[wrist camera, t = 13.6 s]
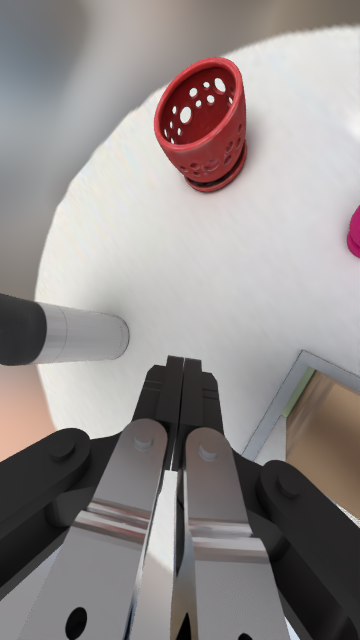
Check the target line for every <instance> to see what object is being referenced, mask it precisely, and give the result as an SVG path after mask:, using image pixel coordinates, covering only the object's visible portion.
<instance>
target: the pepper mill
mask: <svg viewBox="0 0 360 640" xmlns="http://www.w3.org/2000/svg"><path fill="white" fill-rule="evenodd" d="M347 245H348V247H349V249H350V251H351V252H352V253H353V254H354V255H355V256H357V257H359V258H360V205H359V207H358V208H357V210H356V211H355V213H354V214H353V216H352V219H351V221H350V231H349V234H348V237H347Z"/></svg>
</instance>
